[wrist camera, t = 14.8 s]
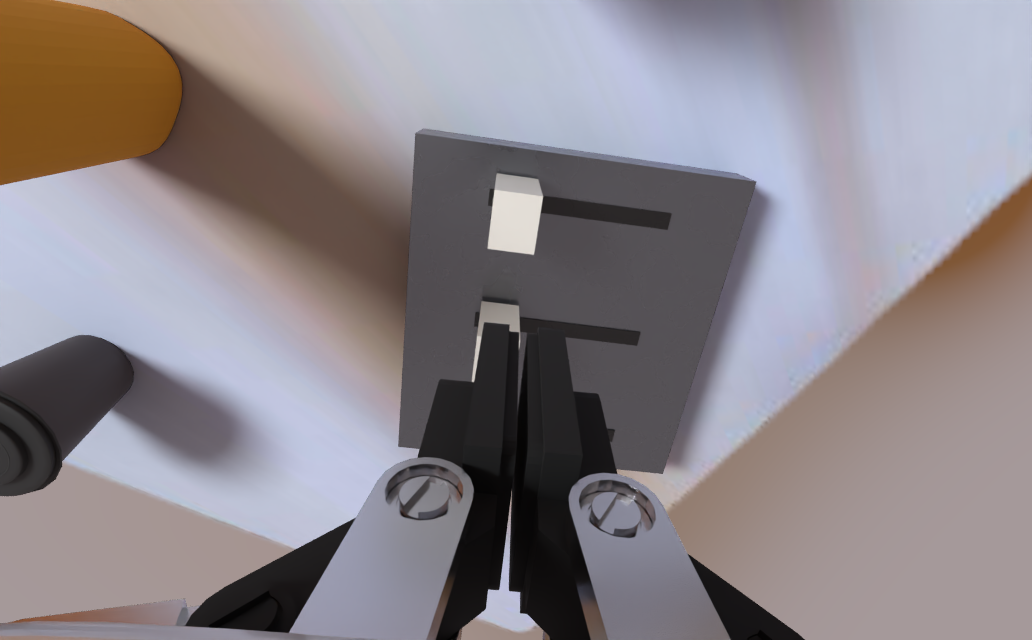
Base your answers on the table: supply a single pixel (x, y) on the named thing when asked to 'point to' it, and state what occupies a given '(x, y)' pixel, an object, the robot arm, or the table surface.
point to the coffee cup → (55, 407)
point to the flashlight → (79, 89)
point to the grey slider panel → (571, 277)
